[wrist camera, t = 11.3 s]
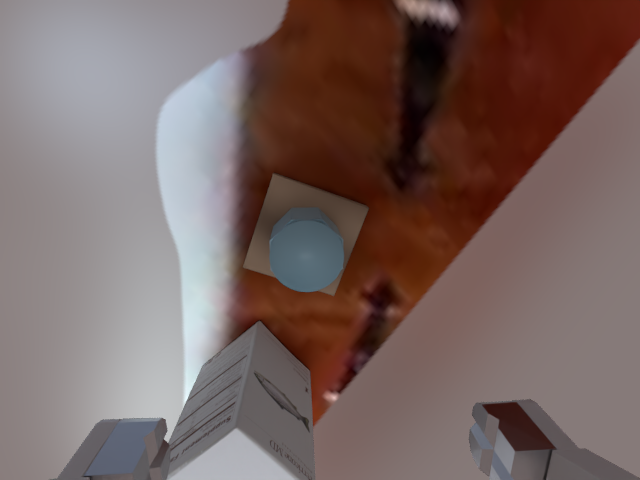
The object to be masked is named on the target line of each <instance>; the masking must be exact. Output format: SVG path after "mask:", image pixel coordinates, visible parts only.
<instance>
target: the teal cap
mask: <svg viewBox="0 0 640 480" xmlns="http://www.w3.org/2000/svg"><path fill="white" fill-rule="evenodd" d="M269 243H270V256H269V259H270V270H271V271H272V272H273V273H274V275H275V276H276V278H277V279H278V280H279V281H280V282H281V283H282V284H284V285H285V286H286V287H288V288H290V289H292V290H296V291H300V292H313V291H317V290H320V289H323V288H325V287H326V286H328V285H329V284H331V283H332V282H333V281H334V280H335V279H336V278H337V276H338V275H339V273H340V271H341V270H342V269H343V262H344V250H343V238H342V236H341V234H340V232H339V230H338V228H337V226H336V225H335V224H334V223H333V222H332V221H331V220H330V219H329V218H328V217H327V216H326V215H325V214H324V213H323V212H322V211H321V210H320V209H319V208H318V207H309V208H291V209H290V210H289V211H288V212H287V213H286V214H285V215H284V216H283V217H282V218H281V219H280V220H279V221H278V222H277V223H276V224H275V225H274V226H273V230H272V233H271V237H270V241H269Z"/></svg>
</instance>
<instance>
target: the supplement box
mask: <svg viewBox="0 0 640 480" xmlns="http://www.w3.org/2000/svg"><path fill="white" fill-rule="evenodd" d="M313 441H314V440H313V421H312V400H311V380H310V371H309V369H307V368H306V367H305V366H304V365H303V364H302V363H301V362H300V361H299V360H297V359H296V358H295V357H294V356H293V355H292V354H291V353H290V352H289V351H288V350H287V349H286V348H285V347H284V346H283V345H282V344H281V343H280V342H279V340H278V339H277V338H276V337H275V336H274V335H273V334H272V333H271V332H270V331H269V330H268V329H267V328H266V327H265V326H264V324H263V323H262V322H261V321H258V322H257V323H256V324H255V325H253V326H252V327H251V328H249V329H248V330H247V331H246V332H244V333H243V334H242V335H241V336H239V337H238V338H237V339H236V340H234V341H233V342H232V343H231V344H229V345H228V346H227V347H225V348H224V349H223V350H222V351H220V352H219V353H218V354H217V355H215V356H214V357H213V358H212V359H211V360H209V361H208V362H207V363H206V364H204V365H203V366H202V368H201V371H200V373H199V375H198V377H197V380H196V382H195V384H194V386H193V388H192V390H191V392H190V395H189V397H188V399H187V401H186V404H185V406H184V408H183V411H182V413H181V416H180V417H179V420H178V422H177V425H176V427H175V429H174V431H173V433H172V436H171V438H170V440H169V443H168V444H169V445H170V452H171V455H170V467H169V472H168V477H167V479H166V480H315V461H314V442H313Z"/></svg>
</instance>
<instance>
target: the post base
mask: <svg viewBox="0 0 640 480" xmlns="http://www.w3.org/2000/svg"><path fill="white" fill-rule="evenodd" d="M309 207H318V208H319V209H320V210H321V211H322V212H323V213H324V214H325V215H326V216H327V217H328V218H329V219H330V220H331V221H332V222H333V223H334V224H335V225H336V226H337V228H338V230H339V232H340V234H341V236H342V238H343V250H344V262H343V269H342V270H341V271H340V273H339V275H338V276H337V278H336V279H335V280H334V281H333V282H332V283H331V284H329V285H328V286H326V287H325V288H323V289H320V290H317V291H320V292H323V293H327V294H330V295H333V296H334V294H335V292H336V289H337V287H338V284H339V282H340V279H341V277H342V274H343V272H344V269H345V267H346V264H347V262H348V259H349V257H350V254H351V252H352V249H353V247H354V244H355V242H356V239H357V237H358V234H359V232H360V229H361V227H362V224H363V222H364V219H365V217H366V214H367V212H368V209H369V208H368V207H367V206H366V205H363V204H360V203H358V202H355V201H352V200H349V199H346V198H344V197H341V196H338V195H335V194H333V193H330V192H327V191H324V190H321V189H319V188H316V187H313V186H310V185H307V184H305V183H302V182H299V181H296V180H293V179H291V178H288V177H285V176H282V175H279V174H277V173H273V176H272V179H271V182H270V185H269V188H268V191H267V194H266V197H265V200H264V203H263V207H262V210H261V213H260V216H259V219H258V222H257V225H256V228H255V231H254V234H253V237H252V240H251V243H250V247H249V250H248V253H247V256H246V259H245V262H244V265H243V268H246V269H249V270H253V271H256V272H259V273H262V274H266V275H269V276H272V277H275V278H276V276H275V275H274V273H273V272H272V271H271V270H270V259H269V256H270V243H269V241H270V237H271V233H272V230H273V226H274V225H275V224H276V223H277V222H278V221H279V220H280V219H281V218H282V217H283V216H284V215H285V214H286V213H287V212H288V211H289V210H290V209H291V208H309Z"/></svg>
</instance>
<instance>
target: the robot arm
mask: <svg viewBox="0 0 640 480" xmlns="http://www.w3.org/2000/svg"><path fill="white" fill-rule="evenodd" d="M472 416H473V417H474V419H475V421H476V423H475V424H474V425H473V426H472V427H471V429H470V434H469V443H470V449H471V453H472V456H473V458H474V461H475V463H476V464H477V466H478V468H479V469H480V470H481V471H483V472H484V473H485V474H486V475H488V476H489V477H490V478H489V480H640V478H639V477H637V476H635V475H633V474H631V473H629V472H628V471H626V470H624V469H622V468H620V467H618V466H617V465H615V464H613V463H611V462H609V461H607V460H606V459H604V458H602V457H600V456H598V455H596V454H594V453H592V452H591V451H589V450H587V449H579V448H578V447H577V446H576V445H575V443H574V442H572V440H571V439H570V438H569V437H568V436H567V435H566V434H565V433H564V432H563V431H562V430H561V429H560V427H559V426H558V425H557V424H556V423H555V422H554V421H553V420H552V419H551V418H550V417H549V416H548V415H547V413H546V412H545V411H544V410H543V409H542V408H541V407H540V406H539V405H538V404H537V403H536V402H535V401H533V400H531V399H527V400H513V401H501V402H482V403H476V404H475V405H474V407H473V412H472ZM166 433H167V426H166V420H165V419H163V418H136V419H135V418H134V419H110V420H101V421H100V422H98V423H97V424H96V425H95V426H94V428H93V429H92V431H91V432H90V433H89V435H88V436H87V437H86V439H85V440H84V442H83V443H82V444H81V446H80V447H79V449H78V450H77V451H76V453H75V454H74V456H73V457H72V458H71V460H70V461H69V463H68V464H67V465H66V467H65V468H64V469H63V471H62V472H61V474H60V475H59V476H58V478H57V479H50V480H166V479H167V477H168V472H169V467H170V455H171V452H170V445H169V444H168V443H167V442H166V441H165V440H164V437H165V435H166Z"/></svg>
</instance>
